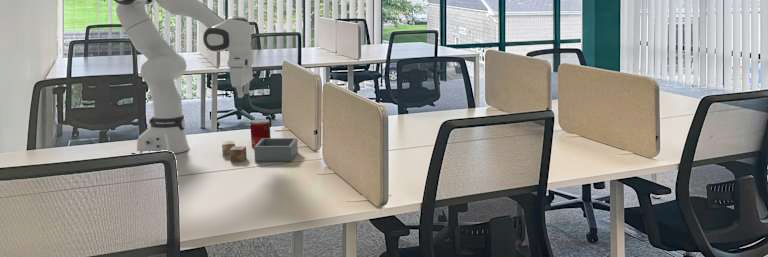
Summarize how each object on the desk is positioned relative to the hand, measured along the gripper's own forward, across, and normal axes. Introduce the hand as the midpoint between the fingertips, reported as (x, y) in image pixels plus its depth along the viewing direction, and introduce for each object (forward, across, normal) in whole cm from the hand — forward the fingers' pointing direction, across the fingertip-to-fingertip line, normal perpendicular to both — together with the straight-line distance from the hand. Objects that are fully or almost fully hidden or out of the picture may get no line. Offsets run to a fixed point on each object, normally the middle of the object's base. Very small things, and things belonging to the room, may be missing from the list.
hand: (243, 95), depth 276 cm
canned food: (+24, -16, +2) cm, 29 cm away
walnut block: (+24, +6, -2) cm, 25 cm away
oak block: (+24, -3, -8) cm, 26 cm away
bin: (+24, +2, +12) cm, 27 cm away
